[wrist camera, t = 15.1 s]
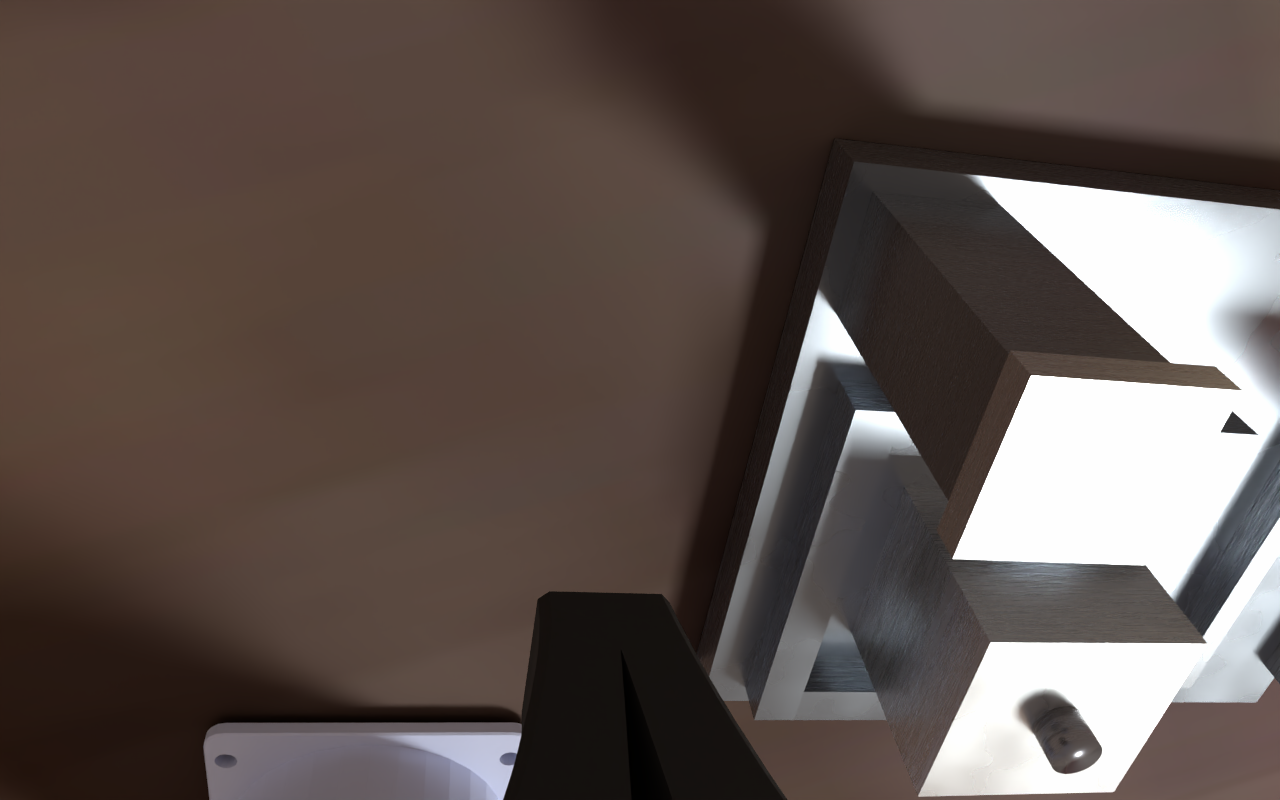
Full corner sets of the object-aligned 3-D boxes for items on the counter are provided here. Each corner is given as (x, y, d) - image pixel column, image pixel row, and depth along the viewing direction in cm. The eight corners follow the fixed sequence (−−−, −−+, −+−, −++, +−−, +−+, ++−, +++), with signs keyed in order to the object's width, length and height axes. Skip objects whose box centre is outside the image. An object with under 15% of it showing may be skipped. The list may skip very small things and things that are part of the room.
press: (1230, 668, 29) (1441, 936, 23) (694, 663, 26) (763, 971, 20) (1535, 220, 22) (1980, 429, 15) (834, 138, 19) (1019, 356, 12)
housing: (1020, 635, 25) (1133, 825, 21) (852, 633, 24) (932, 831, 20) (1090, 494, 23) (1233, 676, 18) (904, 487, 22) (1010, 676, 18)
